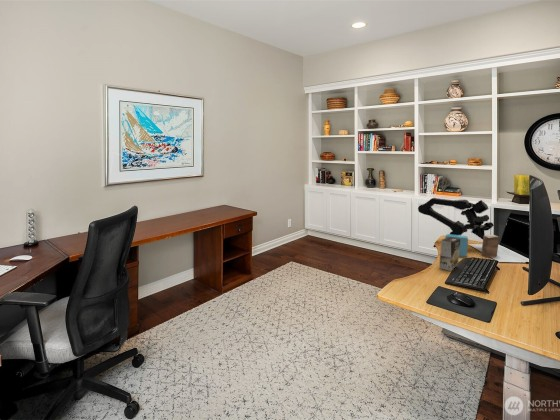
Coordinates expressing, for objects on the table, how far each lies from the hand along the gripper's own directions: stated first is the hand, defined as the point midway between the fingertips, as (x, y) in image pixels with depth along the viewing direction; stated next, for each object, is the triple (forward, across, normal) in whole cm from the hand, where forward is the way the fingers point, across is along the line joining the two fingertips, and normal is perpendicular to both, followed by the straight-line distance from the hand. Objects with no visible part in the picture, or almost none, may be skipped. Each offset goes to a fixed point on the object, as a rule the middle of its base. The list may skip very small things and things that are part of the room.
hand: (483, 239), depth 205 cm
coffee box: (+18, -35, -5) cm, 40 cm away
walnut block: (+10, 0, +2) cm, 10 cm away
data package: (+6, -18, +7) cm, 20 cm away
